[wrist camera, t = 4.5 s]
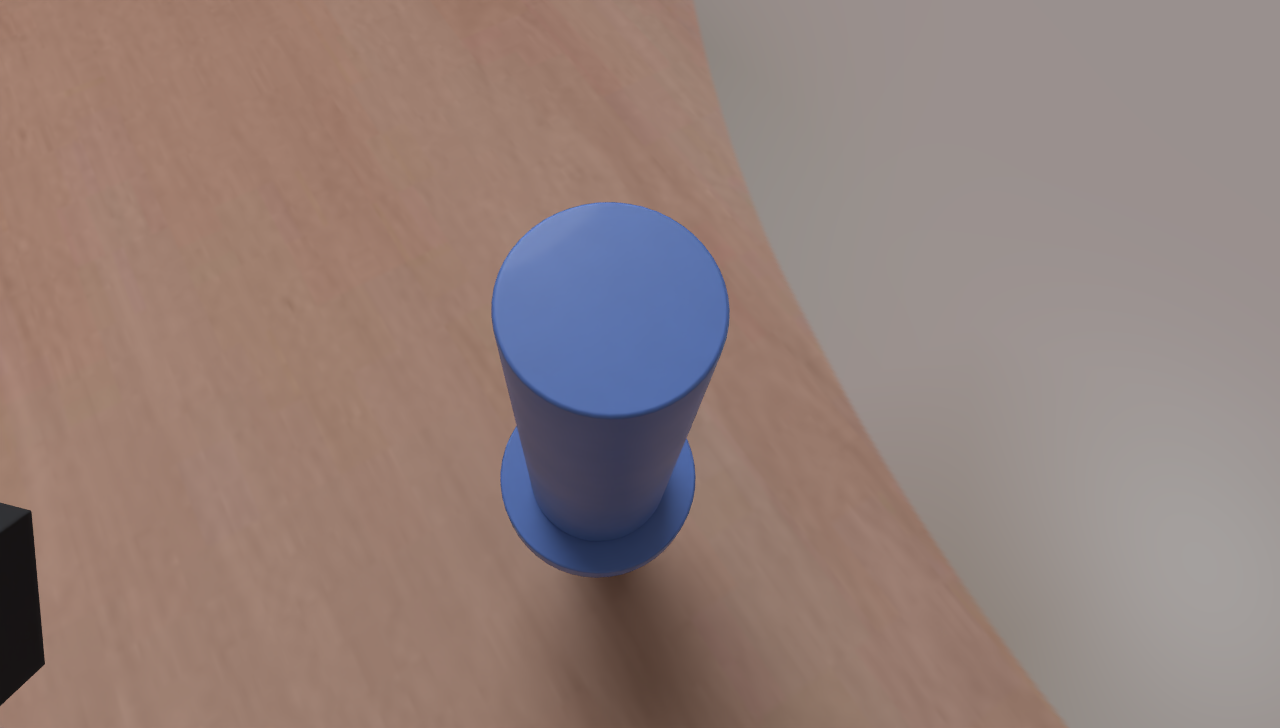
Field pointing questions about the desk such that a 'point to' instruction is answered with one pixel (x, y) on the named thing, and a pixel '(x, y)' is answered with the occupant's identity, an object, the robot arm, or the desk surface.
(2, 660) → the robot arm
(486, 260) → the desk surface
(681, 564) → the desk surface
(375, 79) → the desk surface
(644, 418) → the peg
